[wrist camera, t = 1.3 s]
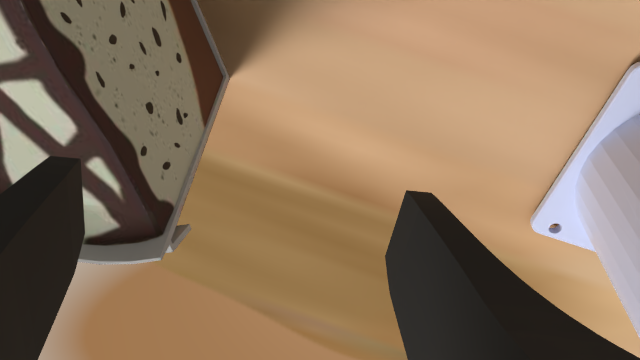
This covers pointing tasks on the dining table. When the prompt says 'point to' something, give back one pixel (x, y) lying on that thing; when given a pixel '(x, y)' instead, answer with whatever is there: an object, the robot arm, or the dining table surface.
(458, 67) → the dining table surface
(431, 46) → the dining table surface
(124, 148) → the food container
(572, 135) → the dining table surface
